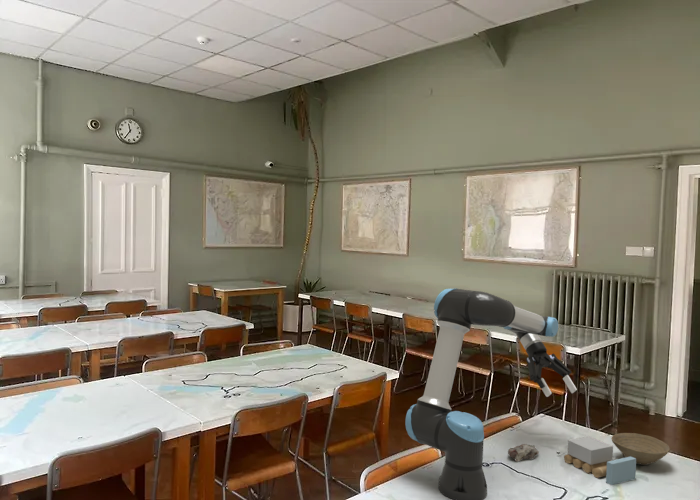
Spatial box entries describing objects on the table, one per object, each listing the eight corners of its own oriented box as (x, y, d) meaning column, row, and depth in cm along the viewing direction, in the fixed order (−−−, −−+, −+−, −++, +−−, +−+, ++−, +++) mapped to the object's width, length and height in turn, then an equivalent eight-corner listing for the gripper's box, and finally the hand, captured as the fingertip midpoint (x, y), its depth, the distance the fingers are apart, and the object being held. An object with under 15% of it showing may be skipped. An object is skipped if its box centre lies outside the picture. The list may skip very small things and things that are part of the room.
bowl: (610, 466, 185) (611, 444, 184) (611, 448, 201) (611, 428, 201) (670, 478, 176) (671, 455, 176) (666, 459, 192) (667, 438, 192)
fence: (611, 485, 170) (612, 464, 169) (606, 482, 171) (606, 461, 171) (635, 479, 175) (636, 458, 175) (629, 476, 176) (630, 456, 176)
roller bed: (599, 479, 174) (599, 470, 174) (563, 461, 187) (564, 453, 187) (623, 473, 179) (623, 464, 179) (586, 456, 192) (587, 448, 192)
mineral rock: (531, 450, 197) (531, 439, 197) (546, 458, 189) (546, 446, 189) (499, 455, 192) (499, 443, 192) (513, 463, 184) (513, 451, 184)
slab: (590, 464, 177) (591, 450, 177) (567, 453, 186) (567, 440, 186) (612, 460, 182) (613, 446, 182) (588, 449, 191) (589, 436, 191)
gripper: (550, 348, 217) (579, 394, 203) (505, 353, 206) (532, 401, 193) (561, 338, 212) (590, 385, 199) (515, 342, 201) (543, 391, 188)
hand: (562, 393), depth 196 cm, fingers open, 12 cm apart
